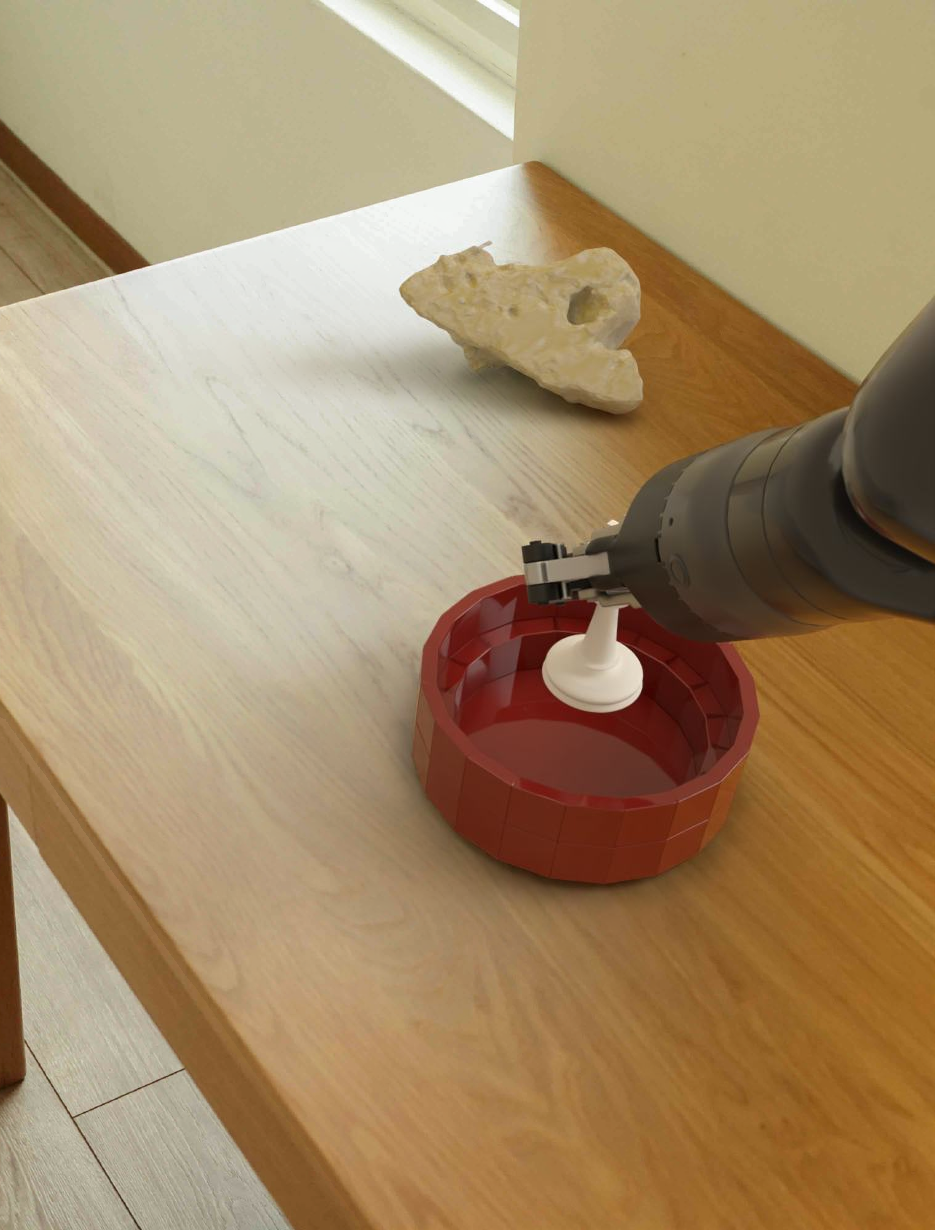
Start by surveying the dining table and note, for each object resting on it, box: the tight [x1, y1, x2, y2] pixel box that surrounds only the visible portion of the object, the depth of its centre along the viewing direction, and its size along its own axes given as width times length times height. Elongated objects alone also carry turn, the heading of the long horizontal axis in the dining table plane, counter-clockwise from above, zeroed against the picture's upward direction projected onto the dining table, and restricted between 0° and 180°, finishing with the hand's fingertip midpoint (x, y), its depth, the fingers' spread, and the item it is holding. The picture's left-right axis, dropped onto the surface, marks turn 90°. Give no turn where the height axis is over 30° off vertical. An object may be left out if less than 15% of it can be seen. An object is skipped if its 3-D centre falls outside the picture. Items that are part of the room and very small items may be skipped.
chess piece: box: [542, 514, 643, 713], centre depth 72 cm, size 5×5×10 cm
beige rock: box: [398, 240, 644, 415], centre depth 105 cm, size 15×7×15 cm
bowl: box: [411, 573, 761, 884], centre depth 78 cm, size 17×17×6 cm
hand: (592, 575), depth 74 cm, fingers closed on chess piece
